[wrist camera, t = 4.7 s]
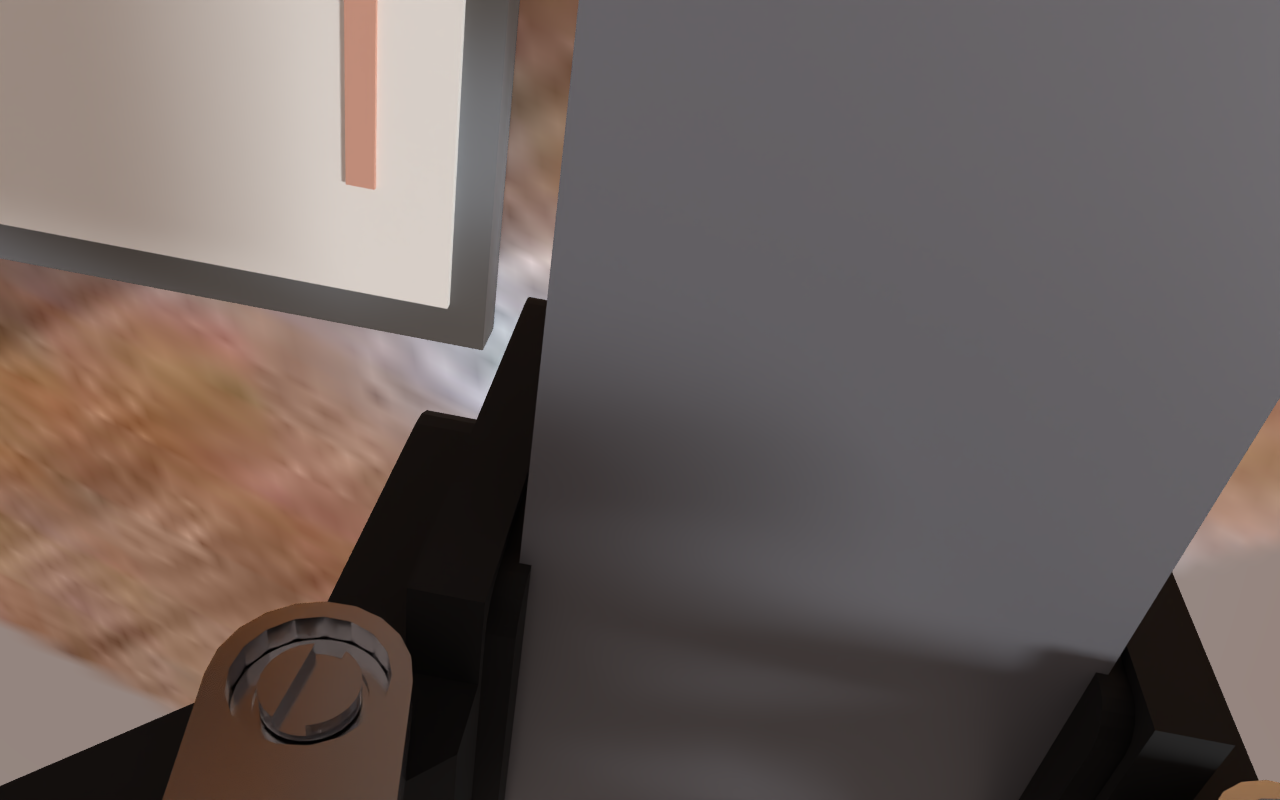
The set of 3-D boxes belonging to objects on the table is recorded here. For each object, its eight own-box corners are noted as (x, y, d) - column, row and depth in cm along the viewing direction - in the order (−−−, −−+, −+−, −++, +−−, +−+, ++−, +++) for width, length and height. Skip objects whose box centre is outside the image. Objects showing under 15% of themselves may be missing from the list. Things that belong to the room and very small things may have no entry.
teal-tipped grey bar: (730, -602, 7) (668, -855, 3) (1361, -489, 7) (1920, -642, 3) (536, 767, 15) (465, 1073, 12) (812, 820, 15) (817, 1142, 12)
